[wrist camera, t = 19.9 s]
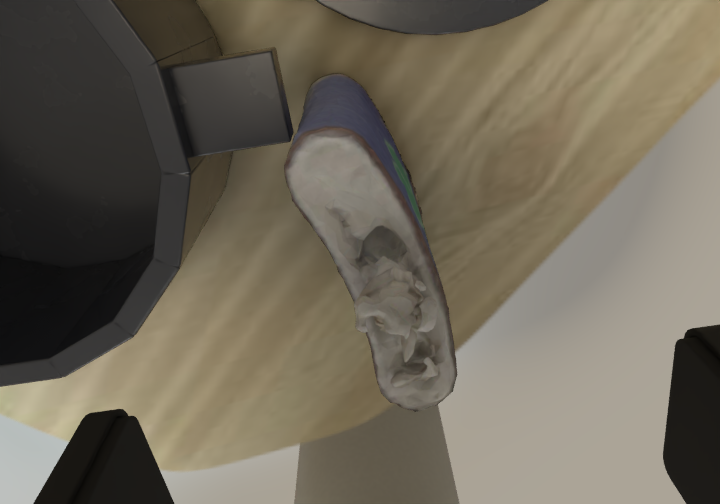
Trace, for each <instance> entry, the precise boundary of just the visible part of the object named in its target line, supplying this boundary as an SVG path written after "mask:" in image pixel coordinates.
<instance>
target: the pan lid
mask: <svg viewBox="0 0 720 504" xmlns="http://www.w3.org/2000/svg"><path fill="white" fill-rule="evenodd" d="M316 1H317V2H319V3H320V4H322V5H323V6H325V7H327V8H329V9H331V10H333V11H335V12H337V13H339V14H341V15H343V16H345V17H347V18H349V19H352V20H355V21H358V22H361V23H364V24H367V25H370V26H373V27H376V28H379V29H384V30H390V31H395V32H401V33H406V34H426V35H440V34H450V33H461V32H468V31H472V30H476V29H480V28H484V27H489V26H493V25H496V24H499V23H501V22H504V21H506V20H509V19H512V18H514V17H517V16H519V15H522V14H524V13H526V12H528V11H530V10H532V9H533V8H535V7H537V6H539V5H541V4H543V3H545V2H547V1H548V0H316Z"/></svg>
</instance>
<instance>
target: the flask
mask: <svg viewBox="0 0 720 504" xmlns="http://www.w3.org/2000/svg"><path fill="white" fill-rule="evenodd" d="M384 123H385V121H384V120H383V119H382V116H381V115H380V113H379V111H378V110H377V108H376V107H375V105H374V103H373V102H372V99H370V98H369V96H368V94H367V93H366V91H365V90H364V89H363V87H362V86H360V85H359V84H358V83H357V82H356V81H354V80H353V79H351V78H350V77H347V76H345V75H342V74H331V75H327V76H324V77H321V78H319V79H318V80H317V81H315V82H314V83H313V84H312V85H311V87H310V89H309V91H308V93H307V95H306V99H305V103H304V111H303V116H302V119H301V122H300V124H299V128H298V132H297V134H296V135H295V136H294V140H293V143H292V146H291V148H290V151H289V153H288V156H287V159H286V162H285V165H284V169H285V178H286V182H287V185H288V188H289V190H290V192H291V196H292V201H293V202H294V204H295V205H296V206H297V208H298V209H299V211H300V212H301V213H302V215H303V216H304V218H305V219H306V220H307V221H308V222H309V223H310V225H311V226H312V227H313V229H314V230H315V232H316V233H317V234H318V236H319V237H320V239H321V240H322V242H323V243H324V245H325V246H326V247H327V249H328V250H329V252H330V254H331V256H332V258H333V260H334V262H335V264H336V265H337V268H338V272H339V274H340V275H341V277H342V278H343V279H344V282H345V284H346V286H347V288H348V290H349V292H350V294H351V297H352V299H353V301H354V306H355V313H356V325H355V327H356V329H357V330H358V331H360V332H363V333H365V332H366V334H367V337H368V340H369V344H370V347H371V352H372V358H373V363H374V368H375V374H376V378H377V382H378V385H379V388H380V391H381V393H382V394H383V396H384V397H385V398H386V399H387V400H388V401H389V402H390V403H395V404H397V405H399V406H400V407H402V408H404V409H409V410H413V411H414V412H416V411H421V410H423V409H426V408H428V407H431V406H436V405H437V404H439V403H440V402H441V401H443V400H444V399H445V398H446V397H447V396H448V395H449V394H450V393H451V392H453V388H454V384H455V380H456V377H457V368H456V357H455V350H454V342H453V335H452V330H451V324H450V319H449V308H448V306H447V302H446V297H445V294H444V290H443V287H442V283H441V280H440V277H439V274H438V271H437V268H436V264H435V262H434V259H433V255H432V253H431V250H430V247H429V244H428V240H427V237H426V233H425V228H424V226H423V222H422V215H421V214H422V211H421V207H419V206H418V205H419V204H418V197H417V195H416V191H415V187H414V186H413V184H412V181H411V175H410V174H409V171H408V169H407V168H406V166H405V165H404V163H403V161H402V159H401V154H399V152H398V149H397V147H396V145H395V143H394V140H393V138H392V136H391V134H390V133H389V131H388V129H387V128H386V125H385V124H384Z"/></svg>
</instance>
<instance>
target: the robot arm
mask: <svg viewBox="0 0 720 504" xmlns="http://www.w3.org/2000/svg"><path fill="white" fill-rule="evenodd" d="M663 460H664V464H665V468H666V471H667V473H668V475H669V477H670V479H671V480H672V482H673V483H674V485H675V487H676V488H677V490H678V491H679V493H680V494H681V496H682V497H683V499H684V501H685V502H686V504H720V325H714V326H707V327H700V328H692V329H690V330H687V332H686V333H685V336H684V339H679V340H678V341H677V342H676V345H675V352H674V361H673V370H672V379H671V388H670V397H669V406H668V415H667V424H666V432H665V442H664V451H663ZM34 504H174V502H173V500H172V497H171V495H170V493H169V490H168V488H167V486H166V483H165V481H164V479H163V477H162V474H161V472H160V470H159V467H158V465H157V463H156V461H155V458H154V456H153V454H152V451H151V449H150V447H149V444H148V442H147V440H146V438H145V435H144V433H143V431H142V428H141V426H140V424H139V422H138V420H137V418H136V417H134V416H128V414H127V413H126V412H125V411H124V410H123V409H117V410H109V411H102V412H95V413H89V414H88V415H86V416H85V417H84V418H83V420H82V421H81V423H80V425H79V426H78V428H77V430H76V431H75V433H74V435H73V437H72V438H71V440H70V442H69V444H68V445H67V447H66V449H65V451H64V452H63V454H62V456H61V457H60V459H59V461H58V462H57V464H56V466H55V467H54V469H53V471H52V473H51V474H50V476H49V478H48V480H47V481H46V483H45V485H44V486H43V488H42V490H41V492H40V493H39V495H38V497H37V498H36V500H35V502H34Z"/></svg>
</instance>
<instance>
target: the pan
mask: <svg viewBox="0 0 720 504" xmlns="http://www.w3.org/2000/svg"><path fill="white" fill-rule="evenodd" d="M292 135H293V128H292V123H291V118H290V113H289V109H288V104H287V99H286V94H285V90H284V85H283V80H282V75H281V70H280V66H279V61H278V56H277V51H276V48H275V47H271V48H265V49H259V50H253V51H247V52H241V53H235V54H230V55H224V56H222V53H221V49H220V47H219V45H218V43H217V39H216V37H215V34H214V33H213V31H212V29H211V27H210V25H209V23H208V21H207V19H206V18H205V16H204V14H203V13H202V11H201V9H200V8H199V6H198V4H197V3H196V1H195V0H0V387H2V386H9V385H16V384H22V383H29V382H36V381H43V380H50V379H57V378H62V377H66V376H67V375H69V374H71V373H73V372H74V371H76V370H78V369H79V368H81V367H83V366H85V365H86V364H88V363H90V362H91V361H93V360H95V359H97V358H98V357H100V356H102V355H104V354H105V353H107V352H109V351H110V350H112V349H114V348H116V347H117V346H119V345H121V344H122V343H124V342H126V341H128V340H129V339H131V338H133V337H134V335H136V334H137V332H138V331H139V329H140V328H141V326H142V325H143V323H144V322H145V320H146V319H147V317H148V316H149V314H150V313H151V311H152V310H153V308H154V307H155V305H156V304H157V302H158V301H159V299H160V298H161V296H162V295H163V293H164V292H165V290H166V289H167V287H168V286H169V284H170V283H171V281H172V280H173V278H174V277H175V275H176V274H177V272H178V271H179V269H180V267H181V265H182V264H183V262H184V260H185V258H186V257H187V255H188V253H189V251H190V250H191V248H192V246H193V244H194V243H195V241H196V239H197V237H198V236H199V234H200V232H201V230H202V229H203V227H204V225H205V223H206V222H207V220H208V218H209V216H210V215H211V213H212V211H213V209H214V208H215V206H216V204H217V202H218V201H219V199H220V197H221V195H222V194H223V192H224V189H225V187H226V182H227V175H228V171H229V166H230V161H231V157H232V152H233V151H236V150H242V149H248V148H255V147H261V146H267V145H273V144H279V143H286V142H290V141H291V138H292Z"/></svg>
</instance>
